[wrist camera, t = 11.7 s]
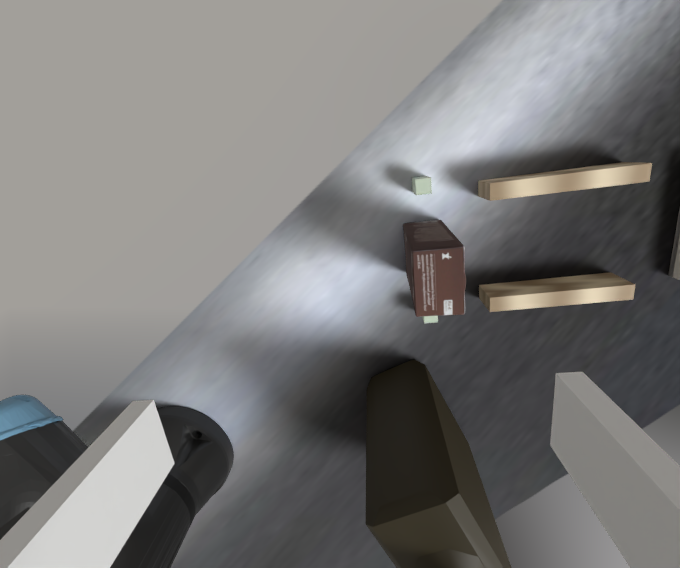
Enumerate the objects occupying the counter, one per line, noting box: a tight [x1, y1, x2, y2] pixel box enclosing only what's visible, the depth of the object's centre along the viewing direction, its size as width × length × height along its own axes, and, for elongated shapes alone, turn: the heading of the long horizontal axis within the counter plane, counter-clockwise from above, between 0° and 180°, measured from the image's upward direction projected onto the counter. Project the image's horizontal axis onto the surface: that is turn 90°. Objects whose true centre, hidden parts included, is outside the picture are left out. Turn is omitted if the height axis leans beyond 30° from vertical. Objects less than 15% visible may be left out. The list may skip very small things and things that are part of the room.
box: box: [403, 220, 466, 317], centre depth 35 cm, size 6×4×12 cm
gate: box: [412, 176, 438, 323], centre depth 39 cm, size 2×16×3 cm, turn 7°
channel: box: [478, 162, 652, 312], centre depth 37 cm, size 14×13×4 cm
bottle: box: [366, 360, 511, 568], centre depth 36 cm, size 8×16×25 cm, turn 29°
